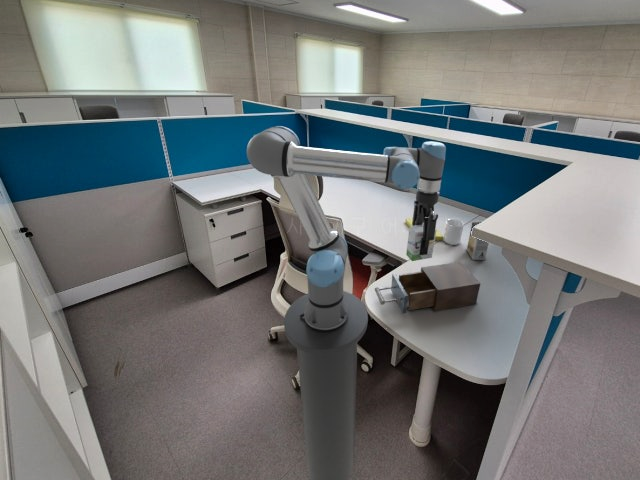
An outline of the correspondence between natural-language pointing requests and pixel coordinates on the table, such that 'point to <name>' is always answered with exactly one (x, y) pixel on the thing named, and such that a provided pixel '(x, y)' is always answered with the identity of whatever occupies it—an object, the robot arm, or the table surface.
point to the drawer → (410, 291)
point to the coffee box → (476, 246)
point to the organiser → (452, 285)
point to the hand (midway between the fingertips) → (419, 249)
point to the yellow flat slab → (438, 235)
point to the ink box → (418, 244)
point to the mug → (453, 231)
